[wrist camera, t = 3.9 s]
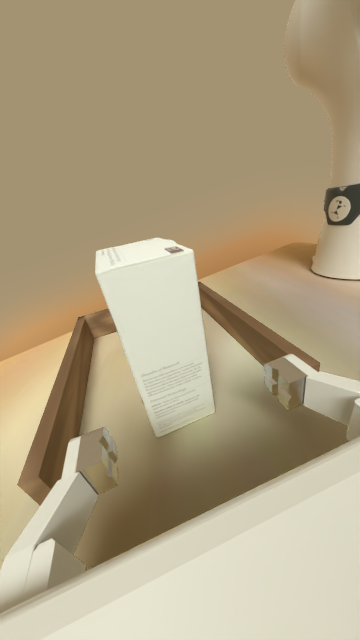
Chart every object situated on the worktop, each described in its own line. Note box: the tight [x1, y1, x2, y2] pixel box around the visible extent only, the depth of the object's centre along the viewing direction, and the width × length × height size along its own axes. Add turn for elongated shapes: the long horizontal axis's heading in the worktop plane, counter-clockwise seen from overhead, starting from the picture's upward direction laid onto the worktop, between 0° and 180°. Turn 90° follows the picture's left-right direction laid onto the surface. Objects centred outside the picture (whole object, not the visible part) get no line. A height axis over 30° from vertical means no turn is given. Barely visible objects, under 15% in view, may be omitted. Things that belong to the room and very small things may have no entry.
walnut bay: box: [17, 282, 320, 506], centre depth 27 cm, size 22×26×4 cm
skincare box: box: [95, 238, 216, 437], centre depth 18 cm, size 8×6×15 cm
